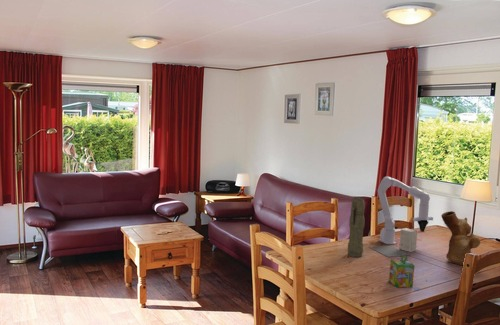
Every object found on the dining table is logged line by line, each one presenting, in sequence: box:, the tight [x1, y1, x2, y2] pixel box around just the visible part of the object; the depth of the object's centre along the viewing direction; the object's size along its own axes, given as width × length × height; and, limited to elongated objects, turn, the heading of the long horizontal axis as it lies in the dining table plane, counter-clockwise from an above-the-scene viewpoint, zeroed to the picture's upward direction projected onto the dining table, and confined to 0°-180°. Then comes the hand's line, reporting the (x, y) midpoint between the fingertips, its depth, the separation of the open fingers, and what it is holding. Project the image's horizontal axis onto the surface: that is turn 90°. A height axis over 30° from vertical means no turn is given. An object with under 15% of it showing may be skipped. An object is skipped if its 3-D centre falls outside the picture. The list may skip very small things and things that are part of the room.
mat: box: [368, 245, 411, 258], centre depth 288 cm, size 20×16×1 cm
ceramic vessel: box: [440, 210, 481, 266], centre depth 269 cm, size 16×22×30 cm
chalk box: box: [388, 255, 415, 288], centre depth 231 cm, size 9×9×15 cm
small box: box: [399, 227, 418, 253], centre depth 292 cm, size 8×6×13 cm
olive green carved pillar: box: [347, 196, 366, 259], centre depth 275 cm, size 9×12×35 cm
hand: (422, 231), depth 300 cm, fingers closed
